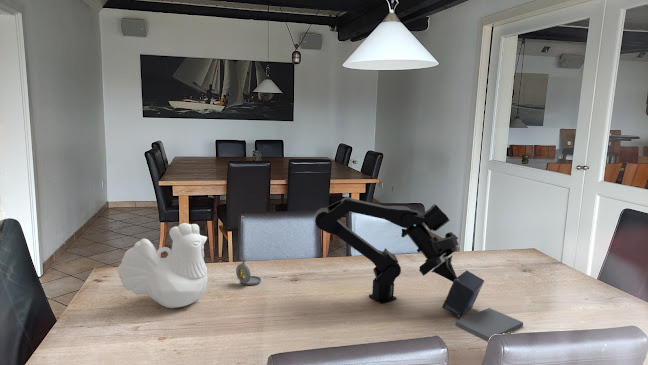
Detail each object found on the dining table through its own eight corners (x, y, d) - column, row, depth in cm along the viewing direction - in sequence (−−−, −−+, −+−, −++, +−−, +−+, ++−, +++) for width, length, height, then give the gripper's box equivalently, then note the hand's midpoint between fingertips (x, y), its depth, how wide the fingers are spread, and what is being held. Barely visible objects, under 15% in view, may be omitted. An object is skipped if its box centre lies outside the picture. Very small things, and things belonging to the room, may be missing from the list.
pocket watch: (262, 279, 154) (263, 252, 152) (256, 288, 146) (257, 260, 144) (240, 277, 155) (240, 250, 153) (233, 287, 147) (232, 258, 145)
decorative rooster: (207, 289, 144) (206, 215, 140) (209, 309, 130) (208, 228, 126) (125, 296, 137) (121, 219, 133) (117, 319, 122) (112, 233, 118)
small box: (460, 320, 127) (474, 290, 124) (440, 308, 131) (453, 278, 127) (473, 308, 136) (485, 280, 132) (454, 297, 139) (465, 269, 135)
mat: (489, 342, 115) (489, 337, 115) (455, 325, 124) (455, 321, 124) (522, 326, 125) (523, 322, 124) (488, 311, 133) (489, 307, 133)
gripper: (431, 232, 125) (468, 277, 121) (452, 219, 140) (485, 259, 136) (404, 253, 131) (438, 297, 126) (427, 239, 146) (458, 277, 142)
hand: (456, 281), depth 133 cm, fingers closed
